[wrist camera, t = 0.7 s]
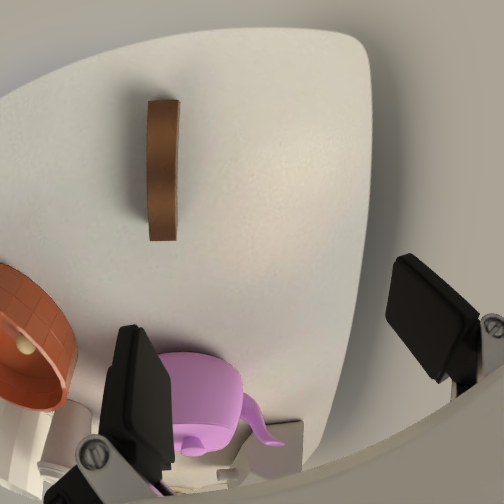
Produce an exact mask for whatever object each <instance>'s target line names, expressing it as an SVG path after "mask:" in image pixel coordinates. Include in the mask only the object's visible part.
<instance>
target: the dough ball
mask: <svg viewBox="0 0 504 504" xmlns="http://www.w3.org/2000/svg"><path fill="white" fill-rule="evenodd" d="M16 345H17V348H18V349H19V351H20V352H22V353H24V354H31V353H33V352H34V351H35V349H36V346H35V345H33V344H32V343H31V342H30V341H29V340H28V339H27V338H26V337H25V336H24V335H23V334H22V332H19V333H18V334H17V336H16Z"/></svg>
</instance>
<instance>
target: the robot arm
mask: <svg viewBox="0 0 504 504" xmlns="http://www.w3.org/2000/svg"><path fill="white" fill-rule="evenodd" d="M479 315H480V313H478V312H477V311H476V310H475V309H474V308H473V307H472V306H471V305H470V304H469V303H468V302H467V301H466V300H465V299H464V298H463V297H462V296H461V295H459V294H458V293H457V292H456V291H455V290H454V289H453V288H452V287H450V285H448V284H447V283H446V282H445V281H444V280H443V279H442V278H440V277H439V276H438V275H437V274H436V273H434V271H432V270H431V269H430V268H429V267H427V266H426V265H425V264H424V263H423V262H422V261H420V260H419V259H418V258H417V257H416V256H414V255H413V254H411V253H408V254H406V255H402V256H399V257H397V259H396V262H394V264H393V270H392V277H391V284H390V291H389V296H388V302H387V308H386V313H385V316H386V320H387V322H388V323H389V324H390V326H391V327H392V328H393V329H394V331H395V332H396V333H397V334H398V336H399V337H400V338H401V340H402V341H403V342H404V343H405V345H406V346H407V347H408V348H409V350H410V351H411V353H412V354H413V355H414V357H415V358H416V359H417V361H418V362H419V363H420V365H421V366H422V367H423V369H424V370H425V371H426V373H427V374H428V375H429V377H430V378H431V379H435V380H436V382H437V383H438V384H439V383H441V382H442V381H444V380H446V379H447V378H448V377H449V376H450V378H451V379H452V390H451V401H450V403H448V404H447V405H445V406H443V407H442V408H440V409H439V410H437V411H436V412H434V413H432V414H431V415H429V416H427V417H426V418H424V419H422V420H421V421H419V422H417V423H415V424H414V425H412V426H410V427H408V428H406V429H404V430H402V431H401V432H399V433H397V434H395V435H393V436H391V437H389V438H387V439H385V440H383V441H381V442H378V443H376V444H374V445H372V446H370V447H368V448H365V449H363V450H361V451H358V452H356V453H353V454H351V455H349V456H346V457H344V458H341V459H338V460H336V461H333V462H330V463H327V464H324V465H322V466H319V467H316V468H313V469H310V470H306V471H303V472H300V473H296V474H293V475H289V476H285V477H282V478H278V479H274V480H270V481H265V482H261V483H256V484H251V485H246V486H241V487H235V488H229V489H224V490H217V491H210V492H202V493H193V494H182V495H177V494H176V493H175V492H174V491H173V490H172V489H171V488H170V487H169V486H168V485H166V484H165V483H164V482H163V481H162V480H161V479H162V471H163V470H171V463H174V461H175V453H174V439H173V422H172V397H171V379H170V376H169V373H168V372H167V370H166V368H165V367H164V365H163V363H162V361H161V360H160V358H159V356H158V355H157V353H156V351H155V349H154V347H153V346H152V344H151V342H150V340H149V338H148V337H147V335H146V333H145V331H144V329H143V328H142V327H140V328H138V326H137V325H136V324H134V325H128V326H123V327H120V329H119V332H118V337H117V341H116V346H115V352H114V357H113V362H112V366H110V367H109V368H108V371H107V376H106V381H105V387H104V394H103V400H102V408H101V415H100V423H99V433H98V435H97V434H93V435H88V436H86V437H85V438H83V439H82V440H81V441H80V442H79V443H78V445H77V447H76V450H75V461H76V463H77V464H76V465H75V466H74V467H73V468H72V469H70V470H69V471H68V472H67V473H66V474H65V475H64V476H63V477H62V478H60V479H59V480H58V481H57V482H56V483H55V484H54V485H53V486H51V487H50V488H49V489H48V490H47V492H46V493H45V496H44V502H43V503H44V504H504V318H503V317H502V316H500V315H498V314H494V313H493V314H492V313H491V314H487V315H485V316H484V317H482V319H481V321H480V320H479V319H478V317H479Z"/></svg>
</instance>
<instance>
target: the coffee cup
mask: <svg viewBox="0 0 504 504" xmlns="http://www.w3.org/2000/svg"><path fill="white" fill-rule="evenodd" d="M91 426H92V413H91V412H90V410H89V409H88V408H86V407H85V406H83V405H81V404H79V403H77V402H74V401H71V400H66V403H65V404H64V405H63V406H62V407H61V408H60V409H58V410H55V412H54V415H53V418H52V422H51V425H50V428H49V431H48V435H47V438H46V441H45V445H44V448H43V452H42V456H41V459H40V461H38V462H37V468H38V470H39V472H40V477H41V478H42V479H43V480H45V481H47V482H49V483H50V484H53V485H54V484H55V483H56V482H57V481H58V480H59V479H60V478H62V477H63V476H64V475H65V474H66V473H67V472H68V471H69V470H70V469H72V468H73V467H74V466H75V465H76V464H77V463H76V461H75V450H76V447H77V445H78V443H79V442H80V441H81V440H82V439H83V438H85V437H86V436H88V435H91Z"/></svg>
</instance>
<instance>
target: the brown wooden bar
mask: <svg viewBox="0 0 504 504" xmlns="http://www.w3.org/2000/svg"><path fill="white" fill-rule="evenodd" d="M179 116H180V101H179V100H161V101H148V117H147V201H148V222H149V237H150V241H176V238H177V226H178V221H177V171H178V137H179Z"/></svg>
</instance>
